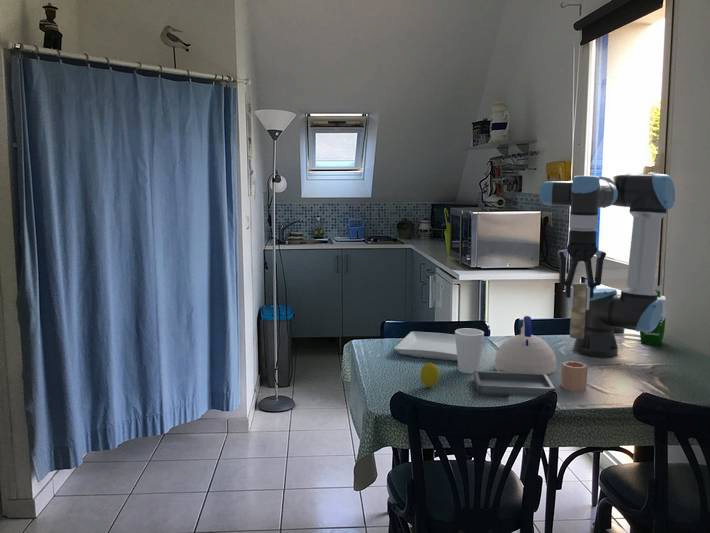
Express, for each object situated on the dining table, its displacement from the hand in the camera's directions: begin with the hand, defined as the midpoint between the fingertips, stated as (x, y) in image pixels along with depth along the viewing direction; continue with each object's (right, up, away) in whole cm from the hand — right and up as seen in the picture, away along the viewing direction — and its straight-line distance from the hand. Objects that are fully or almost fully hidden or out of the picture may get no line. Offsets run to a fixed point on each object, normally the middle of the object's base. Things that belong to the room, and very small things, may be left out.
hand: (578, 308), depth 189 cm
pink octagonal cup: (0, -25, +4) cm, 25 cm away
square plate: (-35, -19, +45) cm, 60 cm away
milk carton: (+48, -17, +59) cm, 78 cm away
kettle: (-9, -22, +24) cm, 34 cm away
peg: (0, -9, +1) cm, 9 cm away
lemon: (-43, -25, +5) cm, 50 cm away
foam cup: (-29, -22, +22) cm, 42 cm away
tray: (-18, -25, +4) cm, 31 cm away
